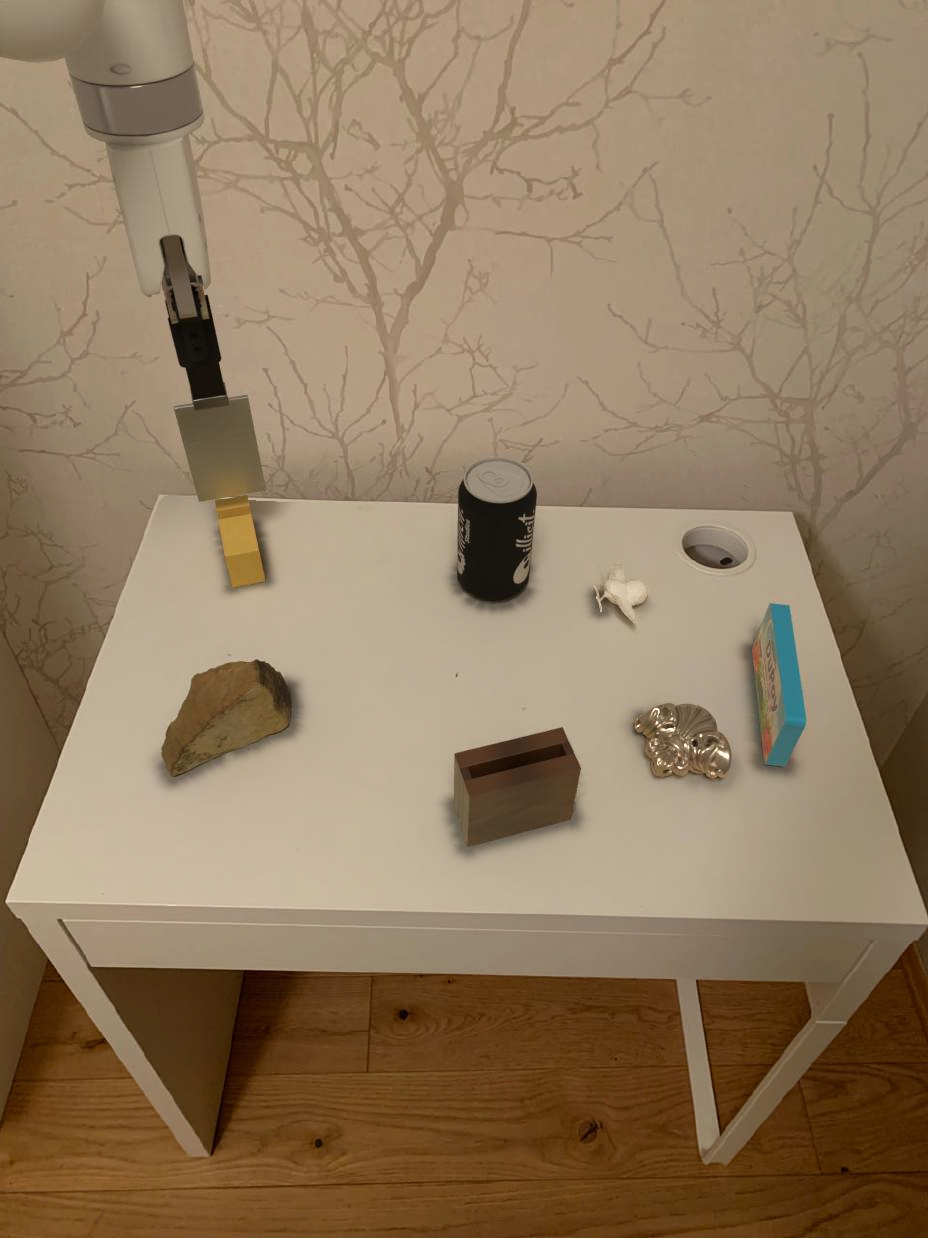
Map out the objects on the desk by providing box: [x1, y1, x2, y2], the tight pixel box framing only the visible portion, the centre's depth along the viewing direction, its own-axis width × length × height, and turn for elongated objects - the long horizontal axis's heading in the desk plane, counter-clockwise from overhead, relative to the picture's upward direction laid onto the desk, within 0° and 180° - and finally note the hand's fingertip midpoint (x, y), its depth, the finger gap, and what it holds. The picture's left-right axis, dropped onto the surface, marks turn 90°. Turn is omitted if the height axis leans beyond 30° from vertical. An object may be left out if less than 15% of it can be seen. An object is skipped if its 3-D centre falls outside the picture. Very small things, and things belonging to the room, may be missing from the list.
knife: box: [172, 289, 267, 503], centre depth 75 cm, size 6×2×20 cm, turn 107°
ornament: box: [633, 702, 732, 780], centre depth 70 cm, size 8×7×4 cm
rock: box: [160, 658, 292, 777], centre depth 70 cm, size 11×9×10 cm
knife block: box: [453, 727, 582, 848], centre depth 65 cm, size 8×4×7 cm, turn 107°
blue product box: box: [751, 602, 807, 768], centre depth 72 cm, size 12×2×6 cm, turn 173°
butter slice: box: [214, 494, 252, 520], centre depth 86 cm, size 3×2×4 cm, turn 107°
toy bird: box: [592, 561, 650, 628], centre depth 80 cm, size 8×5×5 cm, turn 4°
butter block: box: [217, 513, 267, 589], centre depth 83 cm, size 3×5×4 cm, turn 17°
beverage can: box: [456, 456, 538, 602], centre depth 79 cm, size 7×7×12 cm
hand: (198, 352), depth 71 cm, fingers closed on knife, 1 cm apart
